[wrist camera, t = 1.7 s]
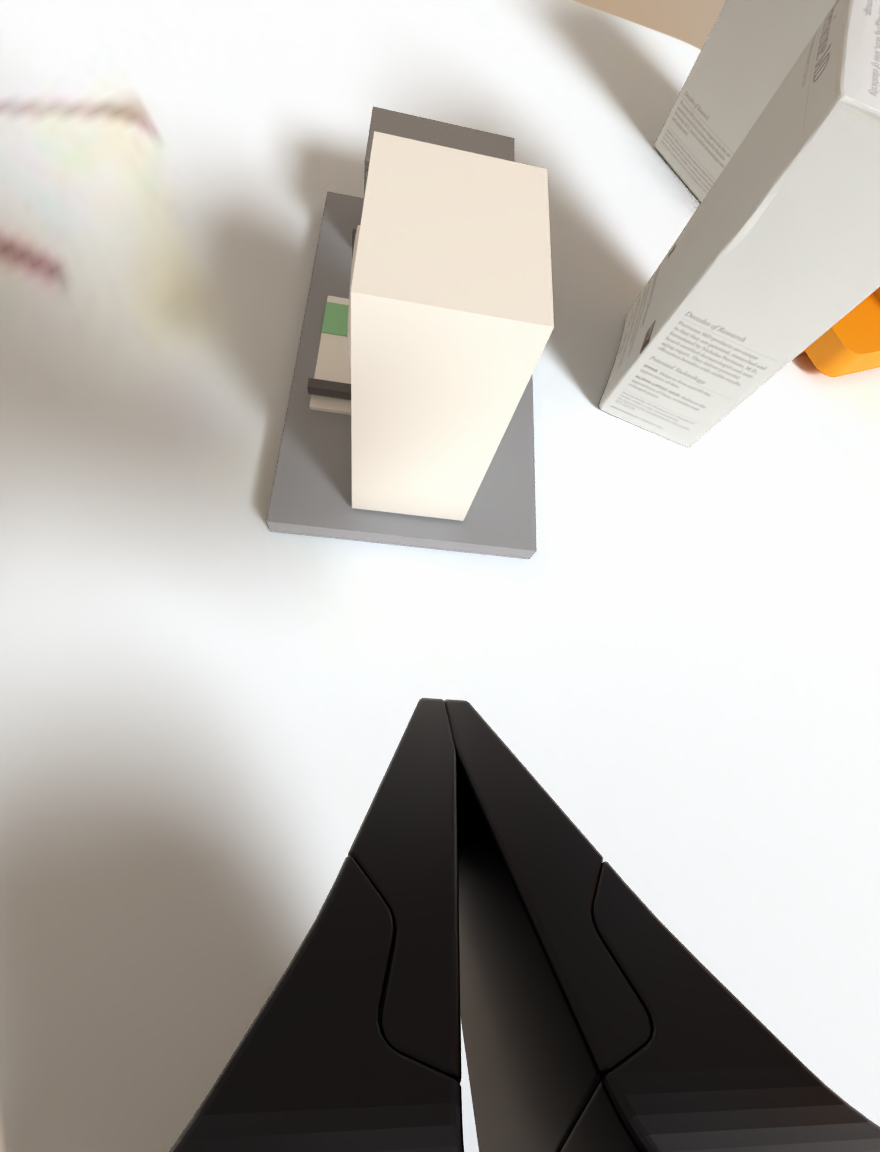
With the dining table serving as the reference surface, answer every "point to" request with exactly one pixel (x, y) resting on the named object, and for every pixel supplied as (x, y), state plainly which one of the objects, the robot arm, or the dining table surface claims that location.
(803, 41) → the supplement box
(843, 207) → the skincare box
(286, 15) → the dining table surface
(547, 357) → the dining table surface
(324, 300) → the gray flat rectangular panel
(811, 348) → the bracket
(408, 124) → the dark gray block
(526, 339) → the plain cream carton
